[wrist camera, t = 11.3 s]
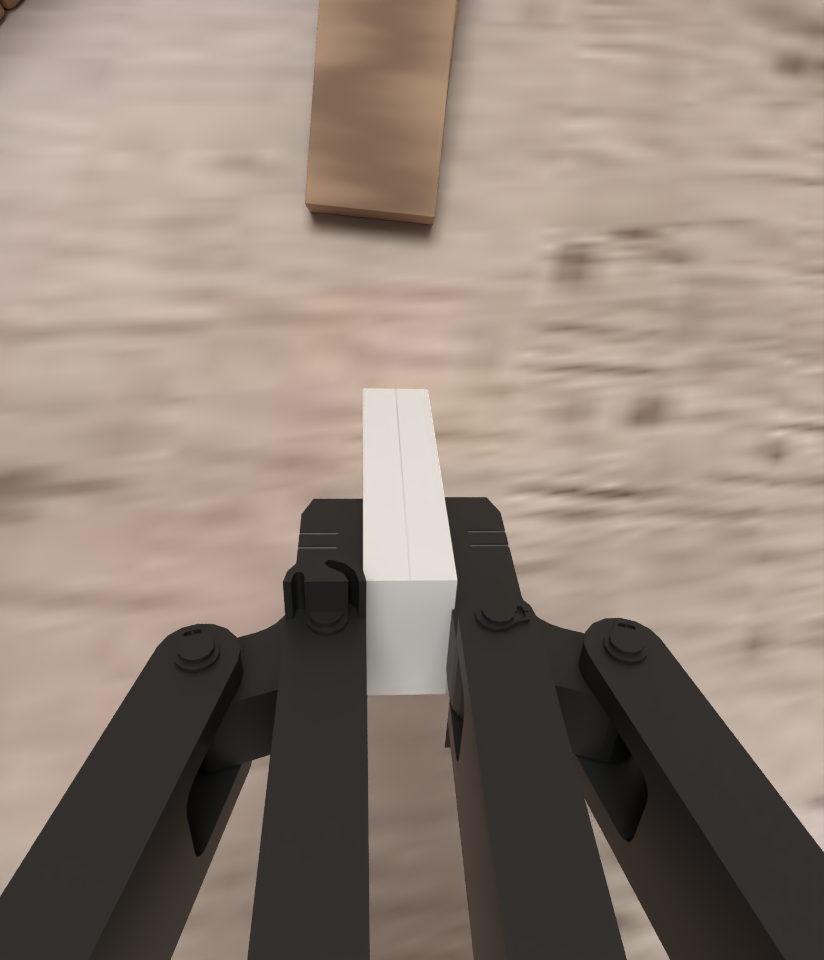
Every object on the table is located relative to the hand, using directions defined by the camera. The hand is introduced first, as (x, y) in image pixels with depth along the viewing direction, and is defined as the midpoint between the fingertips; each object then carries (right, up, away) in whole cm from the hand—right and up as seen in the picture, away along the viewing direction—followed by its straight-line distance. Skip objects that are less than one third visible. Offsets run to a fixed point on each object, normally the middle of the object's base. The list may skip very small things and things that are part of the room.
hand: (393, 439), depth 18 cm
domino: (-1, +10, +12) cm, 15 cm away
